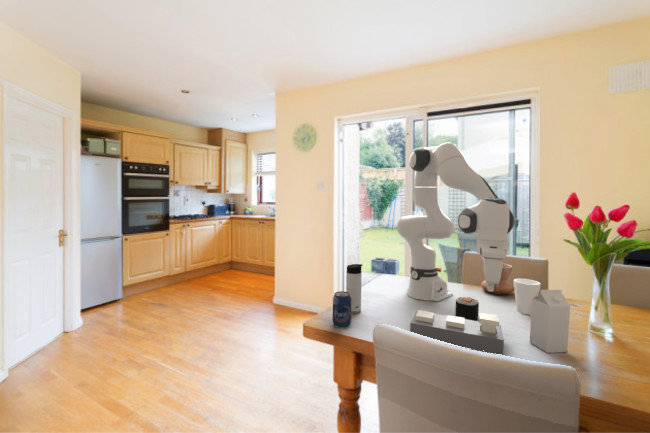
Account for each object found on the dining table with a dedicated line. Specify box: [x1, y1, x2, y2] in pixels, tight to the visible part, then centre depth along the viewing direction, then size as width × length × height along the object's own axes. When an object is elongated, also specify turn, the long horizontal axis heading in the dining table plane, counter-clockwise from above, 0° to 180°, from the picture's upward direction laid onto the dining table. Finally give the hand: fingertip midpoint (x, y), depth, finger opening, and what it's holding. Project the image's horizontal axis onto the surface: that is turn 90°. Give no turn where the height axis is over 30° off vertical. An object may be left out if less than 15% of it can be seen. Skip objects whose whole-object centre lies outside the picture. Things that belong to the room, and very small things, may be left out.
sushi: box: [454, 296, 480, 321], centre depth 122 cm, size 8×8×8 cm
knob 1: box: [416, 309, 435, 323], centre depth 109 cm, size 6×6×5 cm
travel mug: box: [345, 263, 363, 315], centre depth 129 cm, size 6×7×20 cm
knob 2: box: [478, 312, 500, 334], centre depth 101 cm, size 6×6×5 cm
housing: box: [409, 310, 505, 356], centre depth 105 cm, size 28×12×5 cm, turn 64°
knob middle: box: [446, 314, 465, 329], centre depth 105 cm, size 6×6×5 cm
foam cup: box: [513, 278, 541, 316], centre depth 129 cm, size 10×9×13 cm
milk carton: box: [529, 289, 571, 354], centre depth 99 cm, size 7×7×19 cm
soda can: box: [332, 290, 352, 329], centre depth 115 cm, size 7×7×12 cm
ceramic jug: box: [481, 262, 515, 296], centre depth 155 cm, size 18×14×14 cm
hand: (490, 290), depth 100 cm, fingers closed
